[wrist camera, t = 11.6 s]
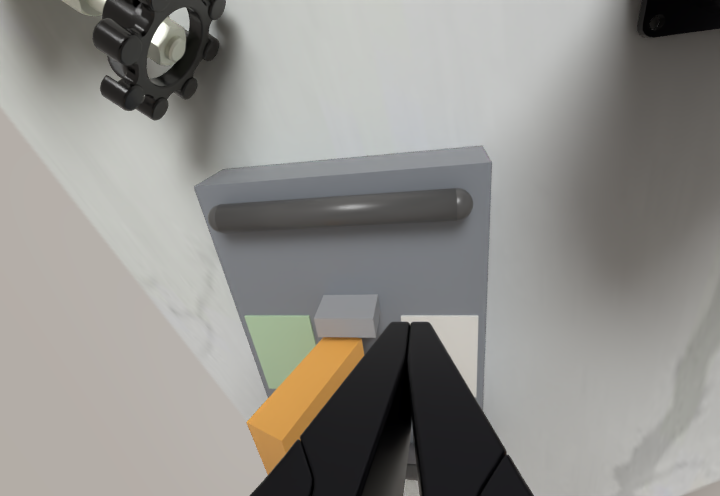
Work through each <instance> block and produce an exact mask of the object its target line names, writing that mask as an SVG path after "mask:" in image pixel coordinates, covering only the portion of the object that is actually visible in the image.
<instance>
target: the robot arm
mask: <svg viewBox="0 0 720 496" xmlns="http://www.w3.org/2000/svg"><path fill="white" fill-rule="evenodd" d="M655 16H658V18H659V24H658V26H657V27H656V28H655V29H653V30H652V29H651V28H650V22H651V19H652V18H653V17H655ZM719 28H720V0H642V4H641V9H640V14H639V19H638V25H637V31H638V33H639V35H641V36H642V37H647V38H651V37H660V36H668V35H675V34H682V33H690V32H697V31H704V30H712V29H719ZM412 428H413V439H414V448H415V457H416V466H417V476H418V485H419V494H420V496H534V495H533V493H532V492H531V490H530V489H529V487H528V485H527V484H526V482H525V481H524V479H523V477H522V476H521V474H520V472H519V471H518V469H517V467H516V466H515V464H514V462H513V461H512V459H511V457H510V456H509V455H506V454H507V452H506V449H505V448H504V446H503V444H502V443H501V441H500V439H499V438H498V436H497V434H496V433H495V431H494V429H493V428H492V426H491V424H490V422H489V421H488V419H487V417H486V416H485V414H484V412H483V411H482V409H481V407H480V406H479V404H478V402H477V401H476V399H475V397H474V396H473V394H472V392H471V391H470V389H469V387H468V385H467V384H466V382H465V380H464V379H463V377H462V375H461V374H460V372H459V370H458V369H457V367H456V365H455V364H454V362H453V360H452V359H451V357H450V355H449V354H448V352H447V350H446V348H445V347H444V345H443V343H442V342H441V340H440V338H439V337H438V335H437V333H436V332H435V330H434V328H433V327H432V325H431V324H430V323H429V322H412V323H411V324H410V323H409V322H391V323H390V324H389V325H388V326H387V327H386V329H385V330H384V331H383V332H382V334H381V335H380V336H379V337H378V339H377V340H376V341H375V342H374V344H373V345H372V346H371V347H370V349H369V350H368V351H367V353H366V354H365V355H364V356H363V358H362V359H361V360H360V361H359V363H358V364H357V365H356V366H355V368H354V369H353V370H352V371H351V373H350V374H349V375H348V376H347V378H346V379H345V380H344V381H343V383H342V384H341V385H340V387H339V388H338V389H337V390H336V392H335V393H334V394H333V395H332V397H331V398H330V399H329V400H328V402H327V403H326V404H325V405H324V407H323V408H322V409H321V410H320V412H319V413H318V414H317V415H316V417H315V418H314V419H313V421H312V422H311V423H310V424H309V426H308V427H307V428H306V429H305V431H304V432H303V433H302V434H301V436H300V440H301V441H300V440H299V439H298V440H296V442H295V443H294V444H293V445H292V447H291V448H290V449H289V450H288V452H287V453H286V454H285V455H284V457H283V458H282V459H281V460H280V461H279V463H278V464H277V465H276V466H275V467H274V469H273V470H272V471H271V472H270V473H269V475H268V476H267V477H266V478H265V480H264V481H263V482H262V483H261V484H260V485H259V486H258V487H257V488H256V490H255V491H254V492H253V493H252V494H251V495H250V496H403V491H404V484H405V476H406V469H407V461H408V454H409V446H410V439H411V429H412Z"/></svg>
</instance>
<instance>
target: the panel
mask: <svg viewBox="0 0 720 496" xmlns="http://www.w3.org/2000/svg"><path fill="white" fill-rule="evenodd" d="M491 173H492V162H491V160H490V158H489V156H488V155H487V153H486V151H485V149H484V147H483V146H474V147H463V148H452V149H441V150H430V151H419V152H408V153H397V154H386V155H375V156H364V157H353V158H342V159H331V160H320V161H309V162H298V163H287V164H276V165H265V166H254V167H243V168H231V169H223V170H221V171H219V172H218V173H216V174H214V175H213V176H211V177H209V178H207V179H206V180H204V181H202V182H201V183H199V184H197V185H196V186H194V189H195V192H196V195H197V198H198V200H199V203H200V206H201V209H202V212H203V215H204V217H205V220H206V223H207V226H208V229H209V232H210V234H211V237H212V240H213V243H214V246H215V249H216V251H217V254H218V257H219V260H220V263H221V266H222V268H223V271H224V274H225V277H226V280H227V283H228V285H229V288H230V291H231V294H232V297H233V300H234V302H235V305H236V308H237V311H238V314H239V317H240V319H241V322H242V325H243V328H244V331H245V334H246V336H247V339H248V342H249V345H250V348H251V351H252V354H253V356H254V359H255V362H256V365H257V368H258V371H259V373H260V376H261V379H262V382H263V385H264V388H265V390H266V393H267V396H268V398H269V397H270V396H271V395H272V394H273V392H274V391H275V390H276V389H277V388H278V387H279V386H280V385H281V384H282V382H283V381H284V380H285V379H286V378H287V377H288V376H289V375H290V374H291V373H292V371H293V370H294V369H295V368H296V367H297V366H298V365H299V364H300V363H301V361H302V360H303V359H304V358H305V357H306V356H307V355H308V354H309V353H310V352H311V350H312V349H313V348H314V347H315V346H316V345H317V344H318V343H319V342H320V340H321V339H322V338H323V337H357V338H362V344H363V350H364V355H365V354H366V353H367V351H368V350H369V349H370V347H371V346H372V345H373V344H374V342H375V341H376V340H377V339H378V337H379V336H380V335H381V334H382V332H383V331H384V330H385V329H386V327H387V326H388V325H389V324H390V323H391V322H409V323H410V324H411V323H412V322H429V323H430V324H431V325H432V327H433V328H434V330H435V332H436V333H437V335H438V337H439V338H440V340H441V342H442V343H443V345H444V347H445V348H446V350H447V352H448V354H449V355H450V357H451V359H452V360H453V362H454V364H455V365H456V367H457V369H458V370H459V372H460V374H461V375H462V377H463V379H464V380H465V382H466V384H467V385H468V387H469V389H470V391H471V392H472V394H473V396H474V397H475V399H476V401H477V402H478V404H479V406H480V407H481V409H482V411H483V388H484V361H485V334H486V308H487V281H488V254H489V227H490V200H491ZM405 479H408V480H418V476H417V466H416V457H415V448H414V439H413V428H412V429H411V439H410V446H409V454H408V461H407V469H406V476H405Z"/></svg>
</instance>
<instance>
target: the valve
mask: <svg viewBox="0 0 720 496" xmlns="http://www.w3.org/2000/svg"><path fill="white" fill-rule="evenodd" d="M62 1H63V2H65V3H66V4H68V5H69V6H71V7H72V8H73V9H75V10H76V11H78V12H79V13H81V14H84V15H89V16H101V15H102V20H101V21H100V22H99V23H98V24H97V25H96V27H95V29H94V31H93V42H94V45H95V46H96V48H98V49H99V50H100V51H102V52H103V53H105V54H106V55H107V57H108V61H109V64H110V66H111V68H112V69H113V71H114V72H115V73H116V74H117V75H118V76H119V77H121V78H122V79H121V80H120V81H118V82H117V81H115V80H114V79H112V78H111V77H109V76H107V75H106V76H105V77H104V79H103V80H102V82H101V86H100V91H101V94H102V95H103V96H104V97H105V98H107V99H109V100H110V101H112V102H113V103H115V104H116V105H118V106H119V107H121V108H122V109H124V110H126V111H132V110H134V109H137V110H138V111H140V112H141V113H143V114H144V115H146V116H147V117H149V118H150V119H152V120H159V119H160V118H162V117H163V116H164V114H165V113H166V111H167V109H168V101H167V99H168V97H169V96H170V95H171V94H172V93H173V92H174V93H175V94H177V95H178V96H180V97H181V98H183V99H189V98H190V97H192V95H193V94H194V93H195V91H196V89H197V80H196V79H195V78H194V77H193V74H194V71H195V69H196V67H197V66H198V64H199V62H200V61H201V60H202V59H204V60H206V61H211V60H213V59H214V58H215V56H216V55H217V52H218V50H219V41H218V40H217V39H216V38H215V37H213V36H212V35H210V34H209V26H210V24H211V22H212V20H217V19H218V18H219V17H220V16H221V15H222V13H223V11H224V9H225V5H226V0H62ZM183 7H186V8H187V10H188V13H189V19H190V27H189V32H188V31H187V30H185V29H184V28H183V27H182V26H180V25H179V24H177V23H176V22H174V21H173V20H172V19H170V18H169V15H170V14H171V13H172V12H174V11H175V10H177V9H179V8H183ZM147 58H150V59H151V60H153V61H154V62H156V63H157V64H159V65H163V66H170V65H173V64H174V63H175V62H176V61H177V62H176V63H175V64H174V65H173V66H172V68H170V69H169V70H168V71H167V72H166V73H164V74H163V75H161V76H159V77H157V78H152V79H149V77H148V74H147V69H146V65H147ZM144 95H145V96H144Z"/></svg>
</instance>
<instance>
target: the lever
mask: <svg viewBox="0 0 720 496" xmlns="http://www.w3.org/2000/svg"><path fill="white" fill-rule="evenodd" d="M363 356H364V350H363V344H362V338H357V337H323V338H322V339H321V340H320V342H319V343H318V344H317V345H316V346H315V347H314V348H313V349H312V350H311V352H310V353H309V354H308V355H307V356H306V357H305V358H304V359H303V360H302V361H301V363H300V364H299V365H298V366H297V367H296V368H295V369H294V370H293V371H292V373H291V374H290V375H289V376H288V377H287V378H286V379H285V380H284V381H283V382H282V384H281V385H280V386H279V387H278V388H277V389H276V390H275V391H274V392H273V394H272V395H271V396H270V397H269V398H268V399H267V400H266V401H265V402H264V404H263V405H262V406H261V407H260V408H259V409H258V410H257V411H256V412H255V413H254V415H253V416H252V417H251V418H250V419H249V420H248V421H247V422H246V423H247V425H248V427H249V430H250V432H251V435H252V437H253V440H254V442H255V444H256V447H257V449H258V452H259V454H260V457H261V459H262V462H263V464H264V466H265V469H266V471H267V474H268V475H269V473H270V472H271V471H272V470H273V469H274V467H275V466H276V465H277V464H278V463H279V461H280V460H281V459H282V458H283V457H284V455H285V454H286V453H287V452H288V450H289V449H290V448H291V447H292V445H293V444H294V443H295V442H296V440H298V439H299V440H300V436H301V434H302V433H303V432H304V431H305V429H306V428H307V427H308V426H309V424H310V423H311V422H312V421H313V419H314V418H315V417H316V415H317V414H318V413H319V412H320V410H321V409H322V408H323V407H324V405H325V404H326V403H327V402H328V400H329V399H330V398H331V397H332V395H333V394H334V393H335V392H336V390H337V389H338V388H339V387H340V385H341V384H342V383H343V381H344V380H345V379H346V378H347V376H348V375H349V374H350V373H351V371H352V370H353V369H354V368H355V366H356V365H357V364H358V363H359V361H360V360H361V359H362V358H363ZM300 441H301V440H300Z"/></svg>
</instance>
